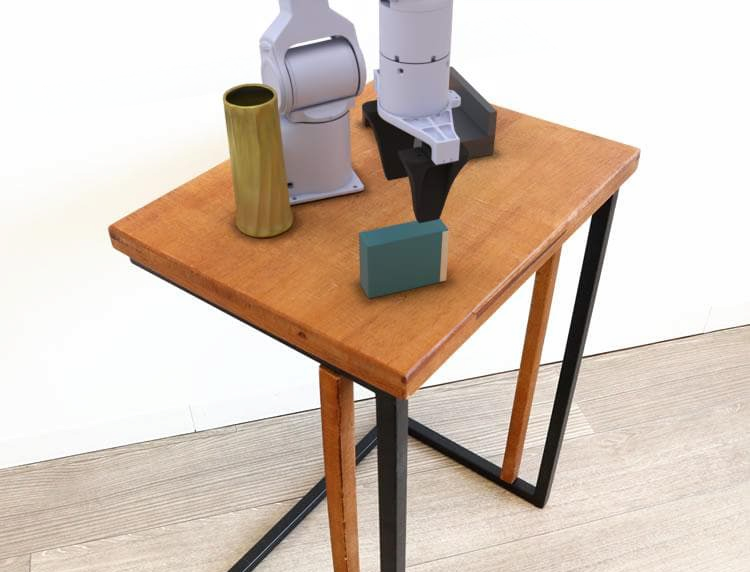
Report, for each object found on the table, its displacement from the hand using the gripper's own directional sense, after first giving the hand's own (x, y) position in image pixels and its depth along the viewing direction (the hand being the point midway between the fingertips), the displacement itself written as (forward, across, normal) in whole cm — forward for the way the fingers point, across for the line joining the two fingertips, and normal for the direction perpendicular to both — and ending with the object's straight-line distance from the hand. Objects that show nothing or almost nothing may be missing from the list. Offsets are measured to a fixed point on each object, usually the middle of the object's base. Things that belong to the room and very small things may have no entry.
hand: (411, 197), depth 77 cm
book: (+9, -1, +1) cm, 9 cm away
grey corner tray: (+9, +25, -12) cm, 29 cm away
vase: (+9, +14, +11) cm, 20 cm away
